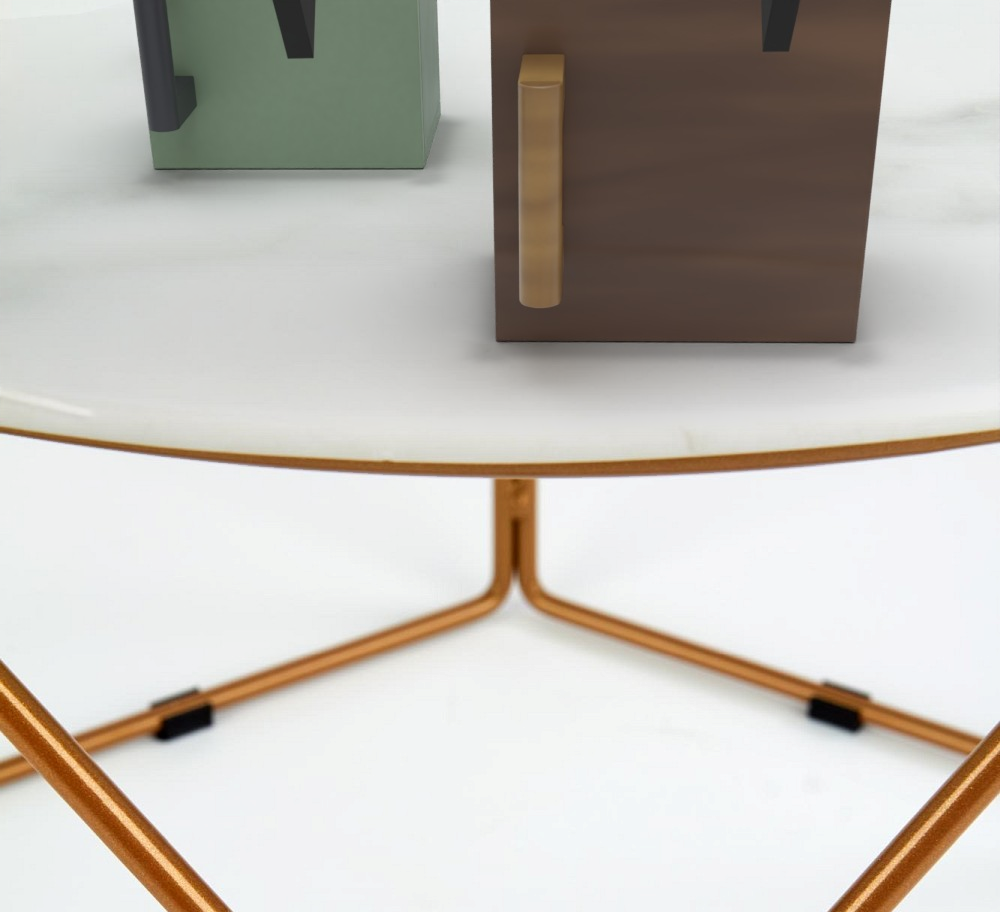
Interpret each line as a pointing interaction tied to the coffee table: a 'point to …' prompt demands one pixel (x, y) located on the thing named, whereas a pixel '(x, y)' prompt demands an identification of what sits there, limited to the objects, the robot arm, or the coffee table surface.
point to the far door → (281, 86)
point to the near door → (682, 169)
